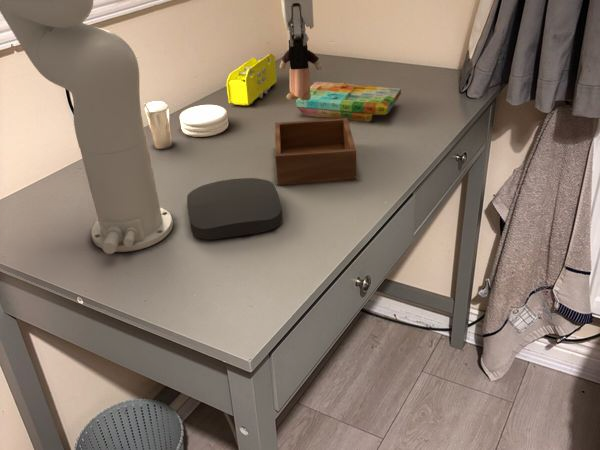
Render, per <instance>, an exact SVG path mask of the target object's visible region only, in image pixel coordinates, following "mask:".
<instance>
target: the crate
mask: <svg viewBox="0 0 600 450" xmlns="http://www.w3.org/2000/svg"><path fill="white" fill-rule="evenodd" d="M274 148H275V149H274V152H275V153H274V154H275V156H274V157H275V167H276V179H277V180H276V181H277V185H278V186H283V185H299V184H301V185H302V184H315V183H328V182H329V183H331V182H345V181H356V180H357V148H356V145H355V141H354V138H353V134H352V131H351V127H350V123H349V120H348V119H347V118H340V119H336V118H327V119H311V120H297V121H283V122H281V121H280V122H275V123H274Z"/></svg>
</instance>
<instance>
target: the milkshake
mask: <svg viewBox="0 0 600 450" xmlns="http://www.w3.org/2000/svg"><path fill="white" fill-rule="evenodd" d="M143 104H144V105H143V106H144V112H145V116H146V118H147V123H148V125H149V129H150V133H151V136H152V140H153V143H154V147H155V148H156V149H157V150H166V149H168V148H170V147H172V136H171V127H170V126H171V125H170V110H169V105H168V104H167V103H166V102H165V101H161V100H158V101H156V100H153V101H151V102H147V104H146V103H143Z"/></svg>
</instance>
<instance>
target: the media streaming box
mask: <svg viewBox="0 0 600 450" xmlns="http://www.w3.org/2000/svg"><path fill="white" fill-rule="evenodd" d="M186 206H187V214H188V218H189V225H190V230H191V234H192V235H194V236H195V237H196V238H199V239H203V240H218V239H226V238H233V237H240V236H246V235H251V234H259V233H264V232H268V231H269V232H270V231H271V230H273V229H276V228H277V227H279V226H280V225H281V224H282V222H283V219H284V218H283V208H282V202H281V198H280V196H279V192H278V190H277V188H276V186H275V184H274V183H273V182H272V181H269V180H267V179H263V178H257V177H241V178H230V179H223V180H218V181H214V182H210V183H207V184H203V185H201V186H198V187H196V188H194V189H193V190H191V191H190V192H188V194H187V195H186Z"/></svg>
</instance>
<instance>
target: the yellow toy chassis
mask: <svg viewBox="0 0 600 450" xmlns="http://www.w3.org/2000/svg"><path fill="white" fill-rule="evenodd" d="M225 83H226V90H227V91H226V92H227V99H228V104H233V105H238V106H251V105H252V104H253V103H254V101H255V100H257V99H258V98H259V99H263V97H264V94H266V95H267V94H268V91H269V90H270V89H271V87H273V85H275V84H276V83H277V69H276V57H275V56H274V55H273V53H269V54H267V55H266V56H264V57H263V58H261V59H258V60H257V59H256V58H255V57H251V58H250V59H249V60H247V61H246V62H244V63H243V64H241V65H240V66H239V67H237V68H236V69H234V70H233V71H232V72H230V73H229V74H228V77H227V80H226V81H225Z"/></svg>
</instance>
